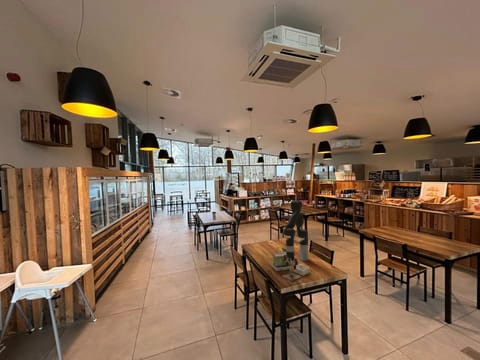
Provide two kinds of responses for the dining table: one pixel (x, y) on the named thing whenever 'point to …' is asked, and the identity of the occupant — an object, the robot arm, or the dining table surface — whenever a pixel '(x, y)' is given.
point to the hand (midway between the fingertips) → (291, 267)
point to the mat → (291, 281)
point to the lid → (291, 276)
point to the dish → (301, 269)
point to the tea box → (280, 261)
